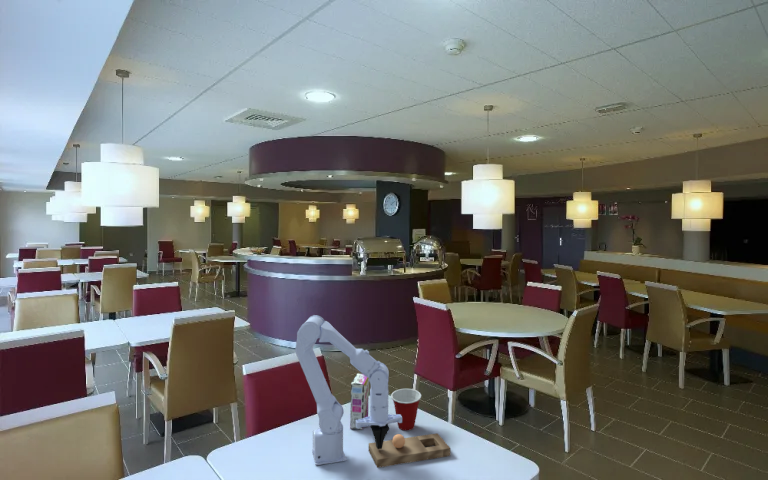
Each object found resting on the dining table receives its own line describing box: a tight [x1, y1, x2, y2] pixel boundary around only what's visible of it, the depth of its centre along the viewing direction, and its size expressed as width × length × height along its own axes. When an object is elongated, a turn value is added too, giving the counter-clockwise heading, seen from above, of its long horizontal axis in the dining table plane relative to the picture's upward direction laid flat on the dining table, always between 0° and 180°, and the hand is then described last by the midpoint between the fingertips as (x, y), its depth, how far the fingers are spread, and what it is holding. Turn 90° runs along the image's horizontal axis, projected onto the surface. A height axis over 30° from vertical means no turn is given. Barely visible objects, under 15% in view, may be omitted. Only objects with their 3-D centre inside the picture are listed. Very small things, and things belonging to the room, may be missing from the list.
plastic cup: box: [390, 388, 422, 431], centre depth 155 cm, size 11×11×12 cm
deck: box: [368, 433, 451, 469], centre depth 138 cm, size 24×10×2 cm, turn 107°
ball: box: [391, 433, 406, 448], centre depth 137 cm, size 4×4×4 cm
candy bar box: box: [349, 373, 370, 431], centre depth 159 cm, size 11×5×16 cm, turn 172°
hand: (378, 447), depth 135 cm, fingers closed
